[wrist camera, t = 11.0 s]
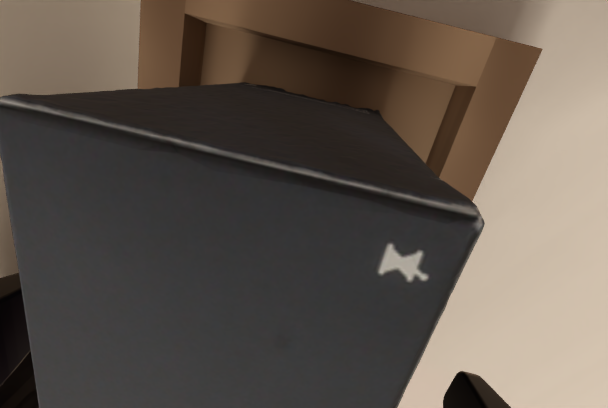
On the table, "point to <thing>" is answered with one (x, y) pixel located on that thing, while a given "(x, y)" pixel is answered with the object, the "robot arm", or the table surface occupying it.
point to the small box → (225, 248)
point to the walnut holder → (350, 68)
